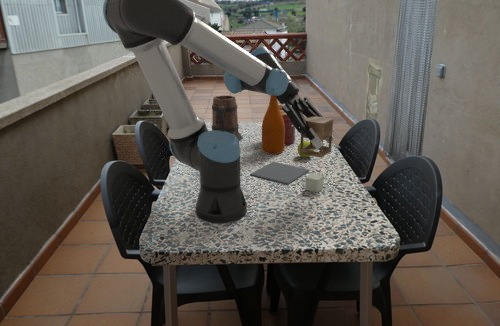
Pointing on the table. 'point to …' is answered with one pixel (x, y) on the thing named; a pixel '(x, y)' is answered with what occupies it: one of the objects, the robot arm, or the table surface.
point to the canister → (288, 128)
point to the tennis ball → (304, 146)
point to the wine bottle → (273, 129)
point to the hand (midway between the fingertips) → (326, 143)
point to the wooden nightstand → (322, 130)
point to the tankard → (225, 115)
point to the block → (314, 182)
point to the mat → (280, 172)
